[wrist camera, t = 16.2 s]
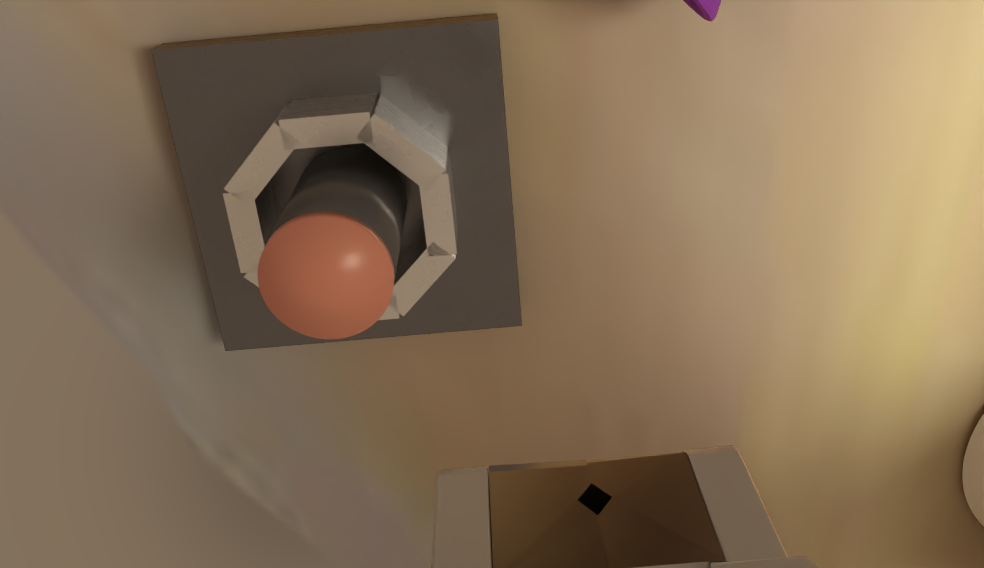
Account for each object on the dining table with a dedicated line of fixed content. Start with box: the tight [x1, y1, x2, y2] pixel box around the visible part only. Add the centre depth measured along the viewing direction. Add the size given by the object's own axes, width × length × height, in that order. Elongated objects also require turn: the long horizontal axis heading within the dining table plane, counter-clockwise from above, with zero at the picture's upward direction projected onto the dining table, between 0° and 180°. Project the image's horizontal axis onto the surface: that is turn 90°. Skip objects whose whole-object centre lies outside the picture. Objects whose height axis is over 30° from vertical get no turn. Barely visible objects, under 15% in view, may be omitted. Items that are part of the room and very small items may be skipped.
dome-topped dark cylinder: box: [258, 148, 407, 339], centre depth 35 cm, size 5×5×8 cm
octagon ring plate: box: [152, 13, 522, 351], centre depth 38 cm, size 14×14×4 cm
